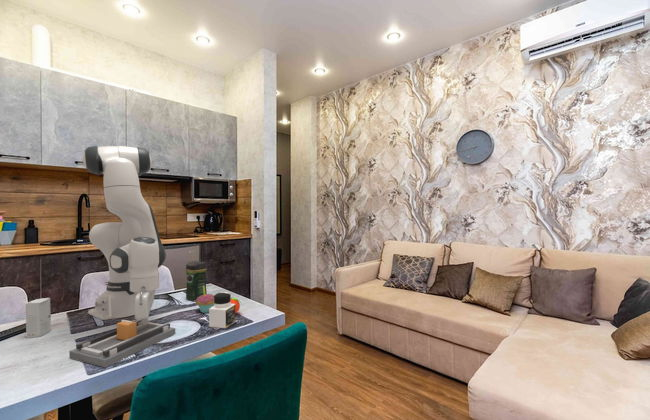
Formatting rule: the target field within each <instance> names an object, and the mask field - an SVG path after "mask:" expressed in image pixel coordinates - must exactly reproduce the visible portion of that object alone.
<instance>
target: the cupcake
mask: <svg viewBox="0 0 650 420" xmlns="http://www.w3.org/2000/svg"><path fill="white" fill-rule="evenodd" d="M203 292H204V295H201V296H199V297H198V298H197V299H196V301H195V305H197V307H198V308H199V311H200V312H201V313H203V314H204V313H209V309H210V308H211V307H213V306H215V305H214V295H215V294H211V293H207V294H205V286H204V285H203Z"/></svg>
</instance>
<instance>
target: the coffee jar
mask: <svg viewBox="0 0 650 420" xmlns="http://www.w3.org/2000/svg"><path fill="white" fill-rule="evenodd" d="M207 269H208V268H207V263H206V262H204V261H197V260H194V261H193V260H192V261H188V262H186V265H185V272H186V290H185V291H186V292H185V297H186V300H188V301H193V302H196V299H197V298H198V297H199V296H201V295H204V292H203V285H204V286H205V294H208V292H207Z"/></svg>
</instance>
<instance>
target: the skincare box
mask: <svg viewBox="0 0 650 420" xmlns="http://www.w3.org/2000/svg"><path fill="white" fill-rule="evenodd" d="M51 312H52V311H51V297H45V298H44V297H43V298H36V299H34V300H31V301H29V302H26V303H25V327H26V328H25V330H26V332H25V333H26V336H25V337H26V338H29V339H30V338H40V337H42V336H43V335H45V334H47V333H49V332H50V331H51V330H52V322H51V321H52V316H51V315H52V314H51Z"/></svg>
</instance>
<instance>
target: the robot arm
mask: <svg viewBox="0 0 650 420" xmlns="http://www.w3.org/2000/svg"><path fill="white" fill-rule="evenodd" d="M82 163H83V165H84V167H85V169H86V170H87V171H88V172H89V173H91V174H93V175H94V174H95V175H97V176H101V175H103V195H104V199H105V205H106V206H105V207H106V209H107V210H108V211H109V212H110V213H112V214H114V215H116V216H118V218H119V219H120V220H121V221H115V222H114V221H113V222H112V221H110V222H109V221H108V222H103V223H99V224H98V223H97V224H94V225H93V227H91V229H90V230H89V233H88V238H89V242H90V243H91V244H92V245H93V247H96V248H97V249H99V251H101V253H102V254H103V255H104V256H105V258H106V262H107V264H108V273H109V275H108V277H109V279H108V280H109V281H107V282H105V286H106V290H105V291H104V292H102V293H101V294H100V295H99V296H98V297H97V298H96V299H95V301H94V308H92V309H90V310H89V311H87V314H88V315H90V316H92V317H95V318H97V319H99V320H101V321H106V320H112V319H122V318H127V317H132V316H134V319H135V320H136V321H140V320H142V325H147V324H148V322H150V321H149V316H150V312H151V310H152V306H153V304H154V300H155V293H156V290H158V289H159V288H160V271H159V268H160V267H161V266H163V264H164V263H165V261H166V258H167V253H166V249H165V247H164V245H163V243H162V241H161V237H160V233H159V229H158V225H157V222H156V218H155V213H154V212H153V209H152V206H151V205H150V203H147V201H146V199H144V197H143V194H142V192H141V191H142V190H141V186H140V185H141V184H140V179H139V177H141V176H142V175H143V174H146V173H148V172H149V171H150V170H151V167H152V165H153V164H152V163H153V159H152V155H151V154H150V152H149V150H148V149H146V148H144V147H133V146H125V145H109V146H108V145H107V146H106V145H104V146H97V145H94V146H88V147H87V148H86V149H84V153H83V154H82Z"/></svg>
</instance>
